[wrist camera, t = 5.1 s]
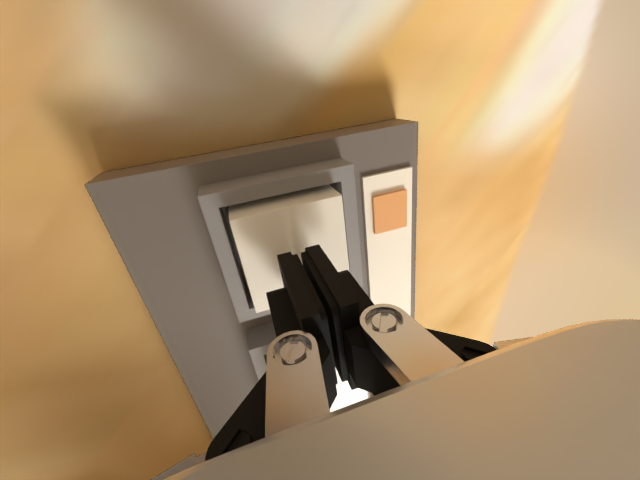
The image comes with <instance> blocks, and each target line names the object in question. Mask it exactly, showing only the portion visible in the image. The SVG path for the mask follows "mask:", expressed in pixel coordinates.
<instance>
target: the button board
mask: <svg viewBox="0 0 640 480" xmlns="http://www.w3.org/2000/svg"><path fill="white" fill-rule="evenodd" d="M417 157H418V122H416V121H409V120H402V119H392V120H387V121H381V122H376V123H370V124H365V125H359V126H354V127H348V128H343V129H337V130H332V131H327V132H321V133H316V134H310V135H305V136H299V137H294V138H288V139H283V140H277V141H272V142H266V143H261V144H256V145H250V146H245V147H239V148H234V149H228V150H223V151H217V152H212V153H206V154H201V155H196V156H190V157H185V158H179V159H174V160H168V161H163V162H157V163H152V164H146V165H141V166H135V167H130V168H125V169H119V170H114V171H108V172H103V173H101V174H99V175H98V176H96V177H95V178H94V179H92V180H91V181H89V182H88V183H86V184H85V187H86V189H87V191H88V193H89V195H90V197H91V199H92V201H93V203H94V204H95V206H96V208H97V210H98V212H99V214H100V216H101V218H102V220H103V222H104V224H105V226H106V228H107V230H108V232H109V234H110V236H111V238H112V240H113V242H114V244H115V246H116V248H117V250H118V252H119V254H120V256H121V258H122V260H123V262H124V264H125V266H126V268H127V270H128V272H129V274H130V276H131V278H132V280H133V282H134V284H135V286H136V288H137V289H138V291H139V293H140V295H141V297H142V299H143V301H144V303H145V305H146V307H147V309H148V311H149V313H150V315H151V317H152V319H153V321H154V323H155V325H156V327H157V329H158V331H159V333H160V335H161V337H162V339H163V341H164V343H165V345H166V347H167V349H168V351H169V353H170V355H171V357H172V359H173V361H174V363H175V365H176V367H177V369H178V371H179V373H180V374H181V376H182V378H183V380H184V382H185V384H186V386H187V388H188V390H189V392H190V394H191V396H192V398H193V400H194V402H195V404H196V406H197V408H198V410H199V412H200V414H201V416H202V418H203V420H204V422H205V424H206V426H207V428H208V430H209V432H210V434H211V436H212V438H213V439H214V438H215V436H216V435H217V434H218V432H219V431H220V430H221V429H222V427H223V426H224V425H225V423H226V422H227V421H228V420H229V418H230V417H231V416H232V414H233V413H234V412H235V411H236V409H237V408H238V407H239V405H240V404H241V403H242V401H243V400H244V399H245V398H246V396H247V395H248V394H249V392H250V391H251V390H252V389H253V387H254V386H255V385H256V383H257V382H258V381H259V380H260V378H261V377H262V376H263V374H264V373H265V372H266V365H267V351H268V347H269V346H270V344H271V342H272V341H273V340H274V339H276V338H277V337H276V333H275V329H274V325H273V320H272V316H271V312H270V309H269V310H266V311H262V312H259V313H256V311H255V307H254V304H253V301H252V297H251V294H250V290H249V287H248V284H247V280H246V277H245V273H244V270H243V267H242V263H241V260H240V256H239V253H238V250H237V246H236V243H235V239H234V236H233V233H232V229H231V226H230V222H229V213H228V206H231V205H235V204H240V203H244V202H249V201H253V200H258V199H262V198H267V197H272V196H276V195H281V194H285V193H290V192H294V191H299V190H304V189H308V188H313V187H317V186H322V185H326V184H329V185H330V186H331V187H333V188H334V189H335V190H336V191H337V192H339V193H340V194H341V195H342V202H343V211H344V221H345V231H346V241H347V251H348V261H349V271H350V273H351V274H352V276H353V277H354V278H355V280H356V281H357V282H358V284H359V285H360V286H361V288H362V289H363V290H364V292H365V293H366V294H367V295H368V297H369V298H370V299H371V301H372V302H373V303H374V305H376V304H391V305H394V306H397V307H399V308H401V309H402V310H404V311H405V312H406V313H407V314H409V315H410V316H411V317H412V318H413V319H414V311H415V259H416V208H417ZM367 397H368V395H367ZM368 398H369V397H368Z"/></svg>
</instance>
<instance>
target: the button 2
mask: <svg viewBox="0 0 640 480" xmlns="http://www.w3.org/2000/svg"><path fill="white" fill-rule="evenodd" d="M228 213H229V222H230V226H231V229H232V233H233V236H234V239H235V243H236V246H237V250H238V253H239V256H240V260H241V263H242V267H243V270H244V273H245V277H246V280H247V284H248V287H249V290H250V294H251V297H252V301H253V304H254V307H255V311H256V313H259V312H262V311H266V310H269V309H270V308H269V304H268V299H267V295H266V292H270V291H273V290H277V289H280V288H284V285H283V281H282V276H281V272H280V268H279V263H278V259H277V255H279V254H283V253H287V252H291V253H292V255H294V254H297V255H298V257H299V259H300V261H301V263H302V258H301V252H305V248H306V247H310V246H314V245H318V244H319V245H320V247H321V248H322V249H323V251H324V252H325V254H326V255H327V257H328V258H329V260H330V261H331V262H332V264H333V265H334V267H335V268H336V270H337V271H338V272H341V271H344V270H348V271H349V261H348V251H347V241H346V231H345V221H344V211H343V202H342V195H341V194H340V193H339V192H337V191H336V190H335V189H334V188H333V187H331V186H330V185H329V184H326V185H322V186H317V187H313V188H308V189H304V190H299V191H294V192H290V193H285V194H281V195H276V196H272V197H267V198H262V199H258V200H253V201H249V202H244V203H240V204H235V205H231V206H228ZM302 265H303V264H302ZM349 272H350V271H349Z"/></svg>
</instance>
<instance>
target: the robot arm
mask: <svg viewBox="0 0 640 480" xmlns="http://www.w3.org/2000/svg"><path fill="white" fill-rule="evenodd" d="M301 258H302V263H301V261H300V259H299V257H298V255H297V254H294V255H292V253H291V252H287V253H283V254H279V255H277V259H278V263H279V268H280V272H281V276H282V281H283V285H284V288H280V289H277V290H273V291H270V292H266V295H267V299H268V304H269V308H270V312H271V316H272V320H273V325H274V329H275V333H276V337H277V338H276V339H274V340H273V341H272V342H271V344H270V346H269V347H268V351H267V365H266V372H265V373H264V374H263V376H262V377H261V378H260V380H259V381H258V382H257V383H256V385H255V386H254V387H253V389H252V390H251V391H250V392H249V394H248V395H247V396H246V398H245V399H244V400H243V401H242V403H241V404H240V405H239V407H238V408H237V409H236V411H235V412H234V413H233V414H232V416H231V417H230V418H229V420H228V421H227V422H226V423H225V425H224V426H223V427H222V429H221V430H220V431H219V432H218V434H217V435H216V436H215V438H214V439H213V441H212V442H211V444H210V446H209V447H208V450H207V451H206V452H205V453H203V454H201V455H200V456H198V457H196V455H195V453H194V454H193V455H191V456H189V457H188V458H186V459H184V460H183V461H181V462H179V463H178V464H176V465H174V466H173V467H171V468H169V469H168V470H166V471H164V472H163V473H161V474H159V475H158V476H156V477H154V478H153V479H151V480H640V320H633V319H632V320H631V319H629V320H628V319H623V320H601V321H592V322H586V323H581V324H576V325H572V326H567V327H564V328H560V329H557V330H554V331H551V332H547V333H544V334H541V335H538V336H535V337H529V338H523V339H514V340H507V341H499V342H494V346H493V347H492V346H490V345H489V344H486V343H483V342H480V341H477V340H473V339H468V338H464V337H460V336H456V335H452V334H447V333H443V332H439V331H435V330H430V329H426V328H424V327H423V326H422V325H420V324H419V323H418V322H417V321H416V320H414V319H413V318H412V317H411V316H410V315H409V314H407V313H406V312H405V311H404V310H402V309H401V308H399V307H397V306H394V305H391V304H376V305H374V303H373V302H372V301H371V299H370V298H369V297H368V295H367V294H366V293H365V292H364V290H363V289H362V288H361V286H360V285H359V284H358V282H357V281H356V280H355V278H354V277H353V276H352V274H351V273H350V272H349V271H348V270H344V271H341V272H338V271H337V270H336V268H335V267H334V265H333V264H332V262H331V261H330V260H329V258H328V257H327V255H326V254H325V252H324V251H323V249H322V248H321V247H320V245H319V244H318V245H314V246H310V247H306V248H305V252H301ZM302 264H303V265H302ZM335 367H336V368H335ZM336 370H337V372H338V374H339V377H340V379H341V381H342V382H344V381H348V383H349V385H350V388H351V390H354V389H357V388H360V389H362V390H365V391H367V395H368V397H369V398H367V399H364V400H362V401H359V402H356V403H354V404H351V405H349V406H346V407H343V408H341V409H338V410H335V411H333V412H330V408H331V406H332V404H333V402H334V400H335V398H336V396H337V389H336V384H338V381H337V375H336Z"/></svg>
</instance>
